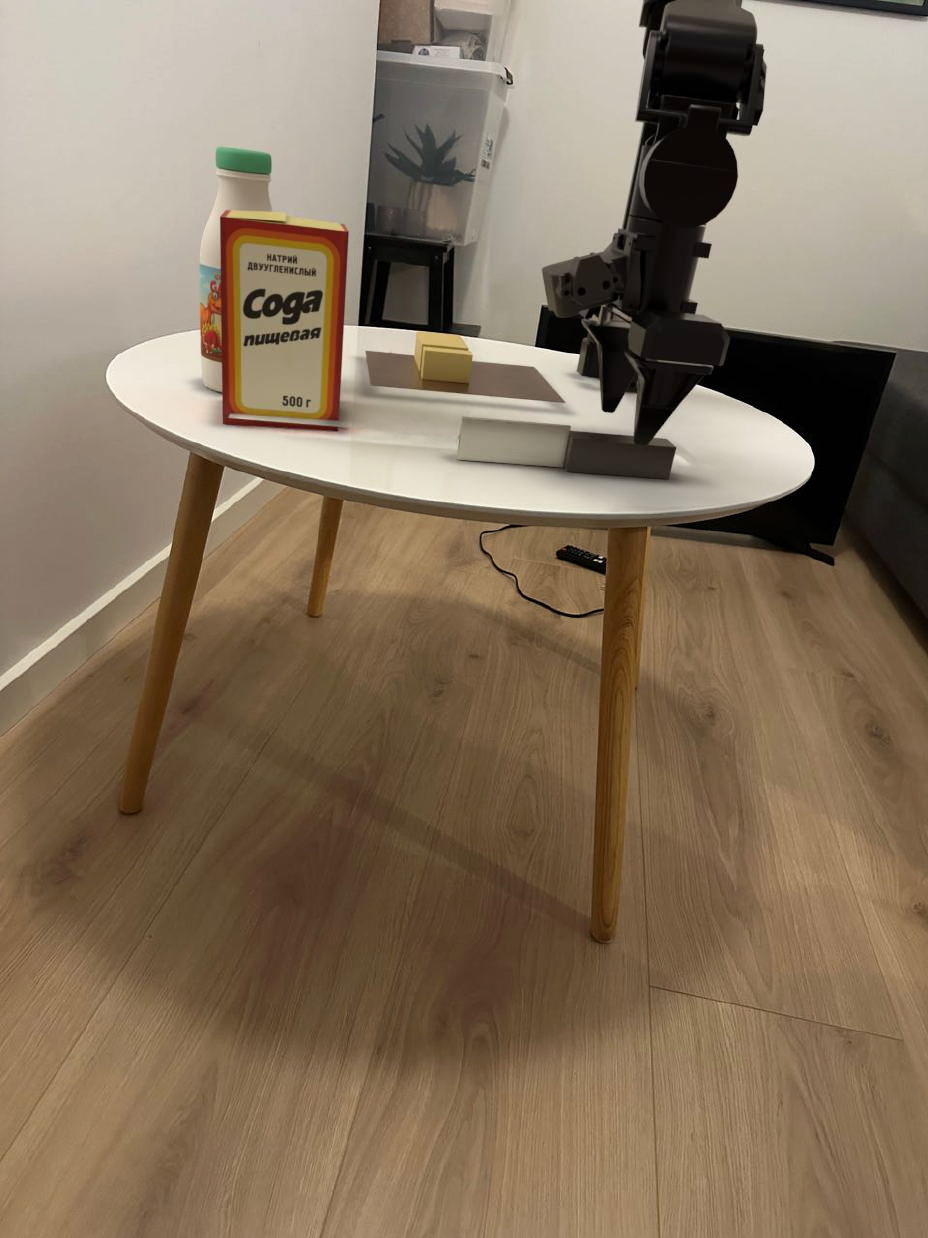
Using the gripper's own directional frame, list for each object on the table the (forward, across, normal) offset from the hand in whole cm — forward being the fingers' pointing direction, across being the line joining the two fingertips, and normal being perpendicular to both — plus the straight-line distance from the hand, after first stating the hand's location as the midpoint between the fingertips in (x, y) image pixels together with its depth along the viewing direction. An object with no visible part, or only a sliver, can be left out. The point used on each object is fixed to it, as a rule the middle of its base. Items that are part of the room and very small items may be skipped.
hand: (623, 427), depth 71 cm
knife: (+4, 0, -4) cm, 6 cm away
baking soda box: (+4, -8, -28) cm, 29 cm away
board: (+4, -26, -10) cm, 28 cm away
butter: (+3, -29, -12) cm, 31 cm away
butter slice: (+3, -23, -12) cm, 26 cm away
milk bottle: (+4, -17, -32) cm, 36 cm away
